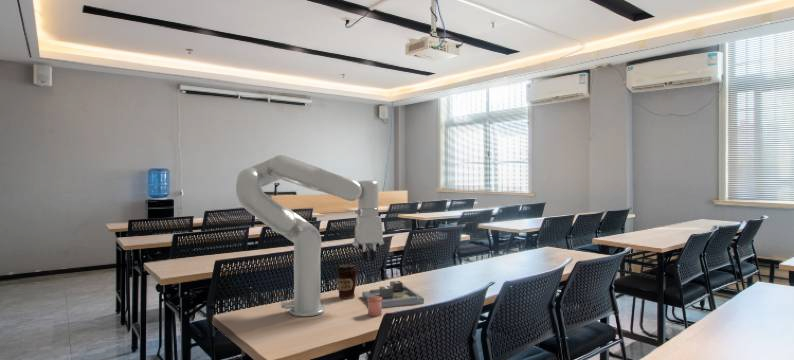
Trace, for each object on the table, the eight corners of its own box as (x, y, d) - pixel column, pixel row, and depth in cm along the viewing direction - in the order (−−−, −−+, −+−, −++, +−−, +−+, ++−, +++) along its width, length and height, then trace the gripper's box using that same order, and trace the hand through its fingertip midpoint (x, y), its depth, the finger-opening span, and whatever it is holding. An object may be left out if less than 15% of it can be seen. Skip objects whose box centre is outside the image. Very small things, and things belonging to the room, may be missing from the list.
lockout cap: (369, 317, 157) (369, 300, 156) (365, 313, 161) (365, 296, 161) (383, 316, 158) (383, 299, 158) (379, 311, 163) (379, 295, 163)
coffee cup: (353, 301, 177) (353, 268, 177) (333, 299, 179) (333, 267, 178) (359, 295, 185) (359, 263, 185) (340, 294, 187) (340, 263, 187)
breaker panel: (374, 308, 167) (374, 292, 167) (362, 296, 183) (362, 281, 183) (423, 303, 174) (423, 287, 173) (407, 292, 190) (407, 277, 189)
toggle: (382, 299, 170) (382, 289, 170) (379, 297, 174) (379, 286, 174) (392, 298, 172) (392, 288, 172) (389, 296, 176) (389, 285, 175)
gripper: (350, 214, 164) (350, 264, 164) (391, 213, 169) (391, 261, 169) (345, 212, 171) (345, 260, 171) (385, 211, 176) (385, 258, 177)
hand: (368, 260), depth 170 cm, fingers closed
